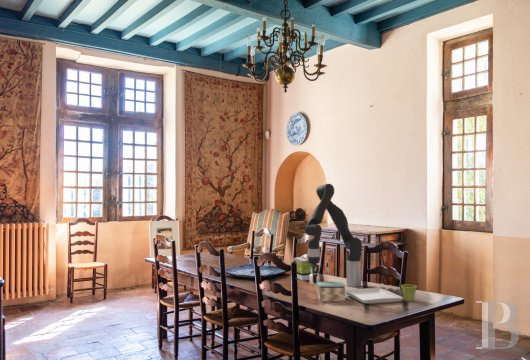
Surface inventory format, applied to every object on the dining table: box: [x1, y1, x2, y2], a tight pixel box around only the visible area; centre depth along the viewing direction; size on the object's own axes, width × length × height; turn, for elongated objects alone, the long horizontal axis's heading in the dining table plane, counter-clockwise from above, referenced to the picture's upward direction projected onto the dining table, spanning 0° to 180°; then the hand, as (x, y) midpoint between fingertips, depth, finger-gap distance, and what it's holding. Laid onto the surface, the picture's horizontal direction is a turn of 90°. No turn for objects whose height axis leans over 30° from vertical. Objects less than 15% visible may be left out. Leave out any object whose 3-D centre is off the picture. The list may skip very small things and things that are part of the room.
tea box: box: [292, 256, 311, 282], centre depth 346 cm, size 15×10×15 cm
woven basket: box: [316, 284, 346, 303], centre depth 282 cm, size 15×13×8 cm
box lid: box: [316, 281, 346, 287], centre depth 282 cm, size 15×13×1 cm
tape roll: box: [309, 273, 319, 285], centre depth 297 cm, size 6×6×6 cm
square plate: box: [345, 287, 404, 305], centre depth 283 cm, size 27×27×4 cm
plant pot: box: [400, 283, 418, 302], centre depth 279 cm, size 9×9×9 cm
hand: (314, 281), depth 297 cm, fingers closed on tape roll, 5 cm apart
